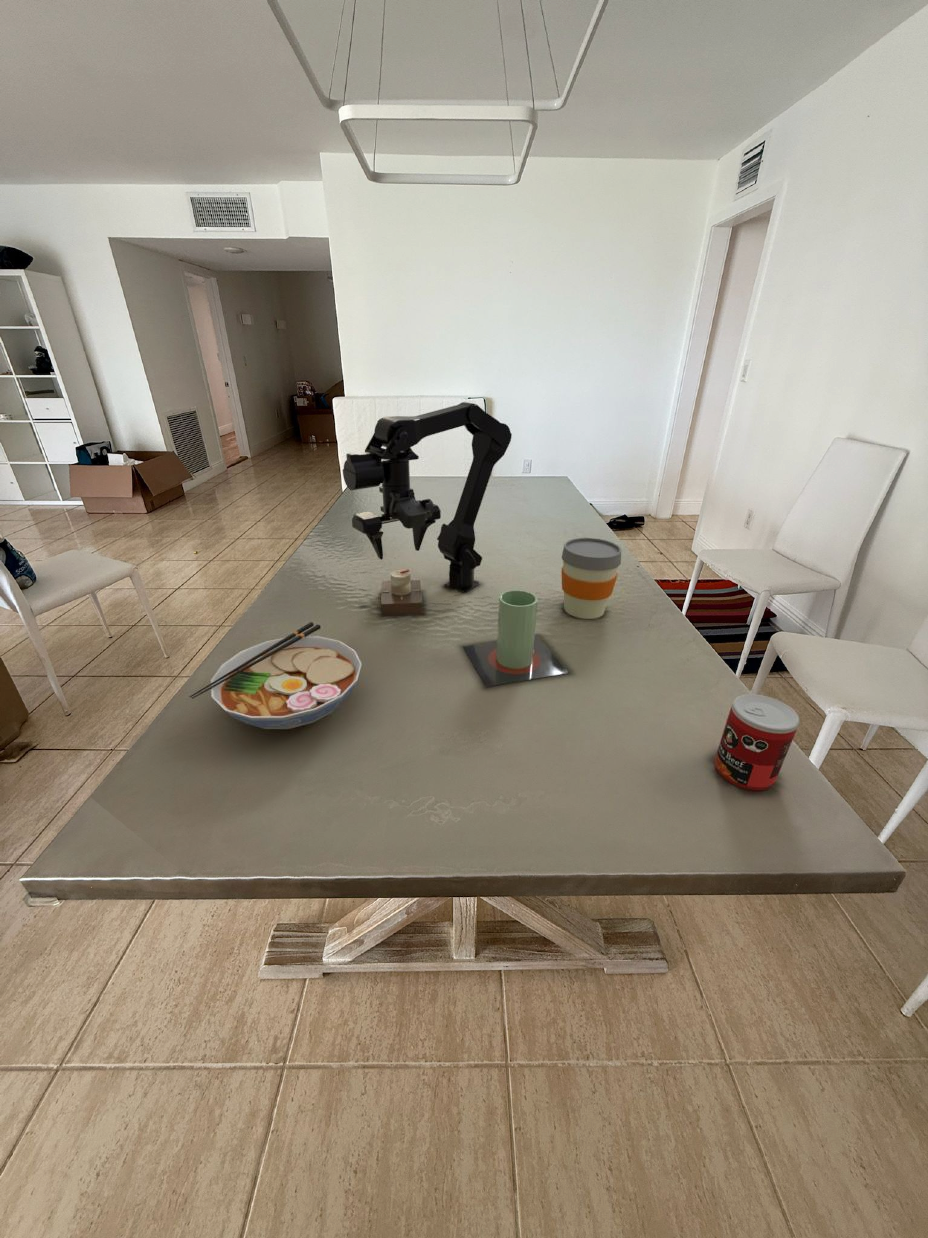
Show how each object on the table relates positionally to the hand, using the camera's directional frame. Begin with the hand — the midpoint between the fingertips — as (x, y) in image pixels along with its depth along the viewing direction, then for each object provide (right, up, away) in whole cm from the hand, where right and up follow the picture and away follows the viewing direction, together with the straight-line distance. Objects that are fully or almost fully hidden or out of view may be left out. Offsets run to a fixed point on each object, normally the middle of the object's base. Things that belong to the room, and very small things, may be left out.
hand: (399, 554), depth 114 cm
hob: (+24, -22, -15) cm, 36 cm away
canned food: (+54, -36, -40) cm, 76 cm away
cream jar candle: (0, -8, +4) cm, 9 cm away
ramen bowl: (-14, -29, -29) cm, 43 cm away
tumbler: (+24, -22, -15) cm, 36 cm away
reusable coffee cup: (+42, -12, +4) cm, 43 cm away
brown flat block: (0, -11, +6) cm, 12 cm away
